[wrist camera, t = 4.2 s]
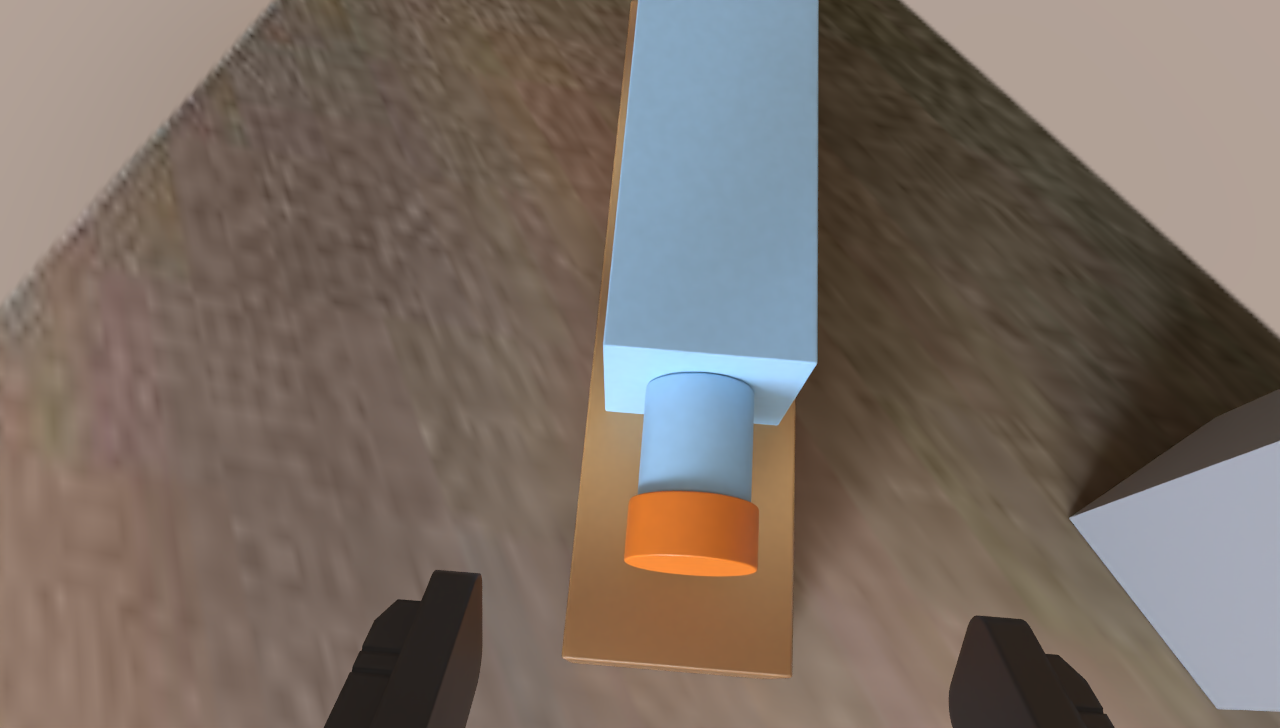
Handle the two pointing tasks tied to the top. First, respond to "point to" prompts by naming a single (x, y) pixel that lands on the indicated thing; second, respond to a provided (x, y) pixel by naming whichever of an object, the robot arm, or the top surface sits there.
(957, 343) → the top surface
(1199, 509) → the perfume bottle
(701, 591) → the wooden board
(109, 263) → the top surface
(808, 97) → the light blue bottle
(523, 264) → the top surface
